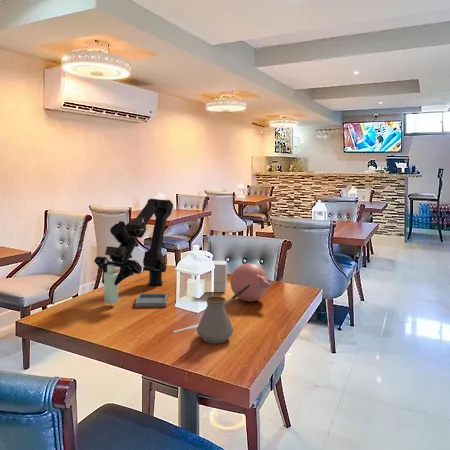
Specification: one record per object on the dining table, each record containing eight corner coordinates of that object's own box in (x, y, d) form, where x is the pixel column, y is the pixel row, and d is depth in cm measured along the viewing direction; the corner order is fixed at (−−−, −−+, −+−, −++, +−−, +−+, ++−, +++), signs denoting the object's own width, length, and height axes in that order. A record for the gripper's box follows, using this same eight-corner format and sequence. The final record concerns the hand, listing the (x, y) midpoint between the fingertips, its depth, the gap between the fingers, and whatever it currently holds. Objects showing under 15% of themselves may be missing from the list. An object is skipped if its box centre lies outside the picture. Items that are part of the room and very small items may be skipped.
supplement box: (226, 288, 184) (227, 260, 182) (225, 293, 176) (226, 264, 174) (210, 287, 184) (211, 260, 182) (208, 292, 177) (208, 263, 175)
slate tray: (139, 297, 168) (139, 293, 167) (167, 297, 168) (167, 293, 168) (135, 307, 156) (135, 302, 156) (165, 307, 157) (165, 302, 157)
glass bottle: (106, 298, 159) (105, 263, 157) (119, 298, 160) (119, 263, 158) (103, 303, 154) (102, 266, 152) (117, 303, 155) (116, 266, 153)
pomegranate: (252, 313, 153) (253, 272, 151) (222, 298, 169) (223, 261, 167) (283, 306, 161) (285, 268, 159) (252, 292, 178) (253, 258, 176)
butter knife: (204, 325, 139) (199, 323, 142) (139, 342, 125) (135, 339, 127) (204, 327, 139) (199, 324, 142) (139, 344, 125) (135, 341, 127)
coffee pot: (212, 349, 122) (213, 300, 119) (189, 337, 130) (189, 291, 128) (262, 331, 136) (263, 287, 134) (238, 321, 144) (239, 280, 142)
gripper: (96, 236, 160) (77, 270, 152) (137, 239, 154) (120, 275, 145) (109, 251, 169) (92, 285, 160) (148, 256, 162) (133, 290, 154)
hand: (108, 283), depth 155 cm, fingers closed on glass bottle, 5 cm apart
